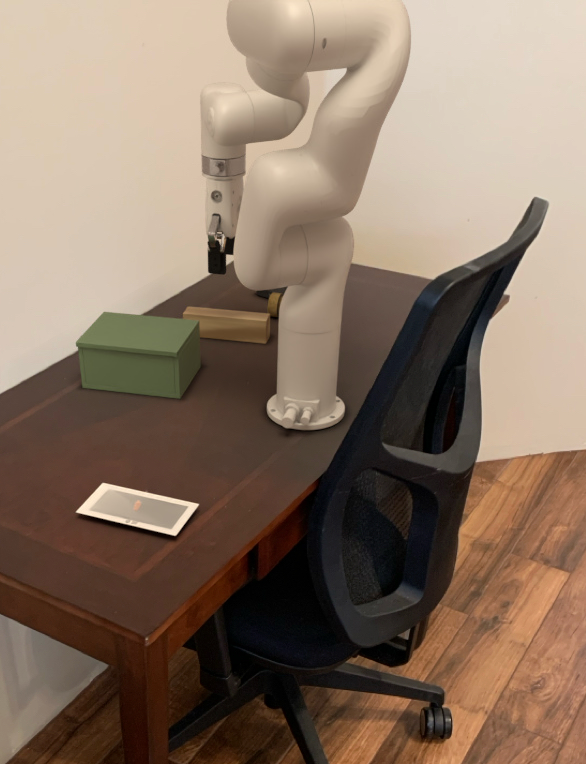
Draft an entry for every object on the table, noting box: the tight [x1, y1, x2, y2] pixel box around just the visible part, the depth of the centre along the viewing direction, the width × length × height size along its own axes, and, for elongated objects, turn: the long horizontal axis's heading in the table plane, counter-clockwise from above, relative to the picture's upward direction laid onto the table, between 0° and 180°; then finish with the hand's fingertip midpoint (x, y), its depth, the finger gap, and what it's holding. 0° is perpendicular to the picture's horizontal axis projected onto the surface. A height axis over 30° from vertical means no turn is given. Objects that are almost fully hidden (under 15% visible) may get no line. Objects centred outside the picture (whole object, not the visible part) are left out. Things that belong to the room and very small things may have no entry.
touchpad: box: [75, 482, 200, 537], centre depth 123 cm, size 8×15×2 cm, turn 67°
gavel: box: [266, 292, 283, 318], centre depth 181 cm, size 21×5×10 cm
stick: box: [182, 306, 271, 345], centre depth 169 cm, size 4×16×4 cm, turn 75°
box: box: [77, 326, 202, 400], centre depth 155 cm, size 13×18×8 cm
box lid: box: [75, 311, 199, 357], centre depth 152 cm, size 13×18×1 cm
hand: (224, 263), depth 163 cm, fingers open, 9 cm apart
